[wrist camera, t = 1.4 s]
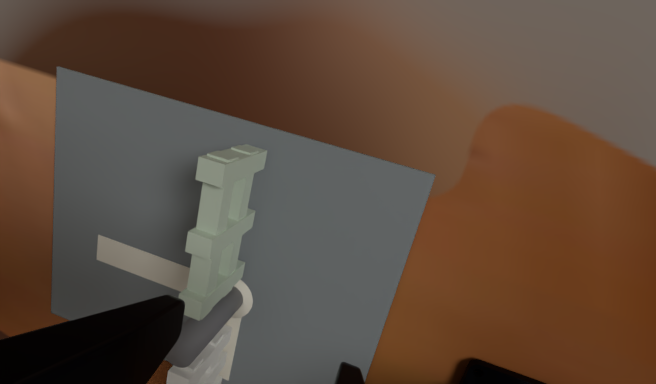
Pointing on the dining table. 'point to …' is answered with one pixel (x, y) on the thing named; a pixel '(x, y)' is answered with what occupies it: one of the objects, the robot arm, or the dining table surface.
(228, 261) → the hinged fence panel
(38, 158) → the dining table surface
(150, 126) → the mat
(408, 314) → the dining table surface
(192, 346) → the fixed fence panel
